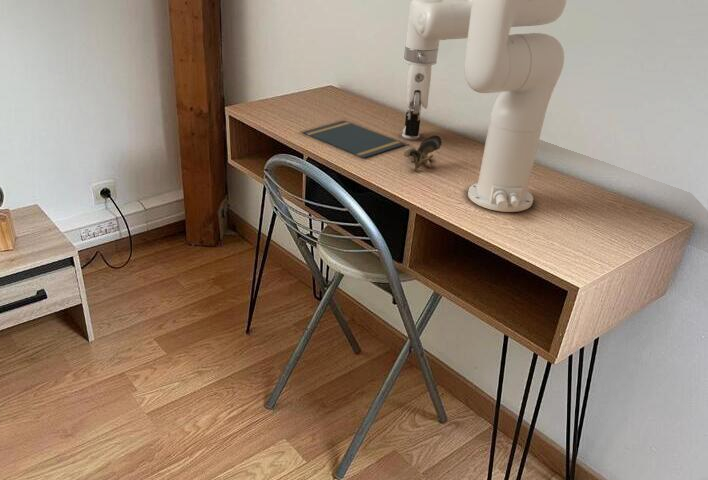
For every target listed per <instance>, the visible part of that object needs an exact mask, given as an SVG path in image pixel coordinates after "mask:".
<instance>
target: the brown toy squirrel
mask: <svg viewBox="0 0 708 480" xmlns="http://www.w3.org/2000/svg"><path fill="white" fill-rule="evenodd" d="M442 144H443V141H442V138H441V137H440V135H435V134H434V135H431V136H428V137H427V138H424V139H423V140H422V141H421V143H420V145H419V146H418V149H416V148H415V147H414V146H412V147H409V148H407V149H405V150H404V152H403V156H404V157H405V158H410V157H412V158H413V159H414V160H411V161H410V163H412V164H414V169H413V172H416V171H417V170H418V169H419V168H420V167H421V166H422V164H425V165H426V166H427V167H429V169H431V168H432V166H431V162H430V160H431V159H432V158H433V157H434V155H433V154H431V153H433V152H434V151H438V150H440V149H441V146H442ZM429 154H431V155H429ZM428 155H429V156H428Z"/></svg>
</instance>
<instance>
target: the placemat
mask: <svg viewBox="0 0 708 480" xmlns="http://www.w3.org/2000/svg"><path fill="white" fill-rule="evenodd" d="M302 134H305V135H306V136H309V137H312V138H313V139H316V140H319V141H320V142H321V141H322V142H324V143H326V144H329V145H330V146H333V147H336V148H338V149H340V150H343V151H345V152H348V153H350V154H352V155H354V156H358V157H359V158H361V159H367V158H370V157H374V156H377V155H379V154H382V153H385V152H388V151H391V150H394V149H397V148H400V147H404V146H405V145H406V143H403V142H401V141H399V140H396V139H393V138H390V137H387V136H385V135H382V134H380V133H377V132H375V131H372V130H368V129H366V128H364V127H361V126H359V125H356V124H354V123H350V122H348V121H345V120H343V121H338V122H335V123H331V124H327V125H324V126H320V127H317V128H313V129H310V130H309V129H308V130H305V131H303V133H302Z"/></svg>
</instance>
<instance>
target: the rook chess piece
mask: <svg viewBox="0 0 708 480" xmlns="http://www.w3.org/2000/svg"><path fill="white" fill-rule="evenodd" d="M413 105H414V104H412V106H413ZM406 110H408V111H409V107H408V106H407V107H406ZM411 111H413V109H411ZM405 129H406V126H405V125H404V128H403V129H402V133H401V137H402V139H404V140H409V141H416V140H419V138H420V134H421V131H420V130H421V129H419V134H418V136H406V135H405Z"/></svg>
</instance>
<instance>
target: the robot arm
mask: <svg viewBox="0 0 708 480" xmlns="http://www.w3.org/2000/svg"><path fill="white" fill-rule="evenodd" d="M566 4H567V0H464V1H461V0H458V1H443V0H411V1H410V3H409V11H408V18H407V29H406V37H405V45H404V47H405V48H404V56H403V62H404V63H406V64H408V65H407V76H406V87H405V99H406V100H405V101H406V106H407V108H408V107H409V111H408V110H407V109H406V110H407V111H406V113H405V120H404V127H405V126H406V129H405V135H406V136H418V134H419V130H420V125H421V111H422V108H423V109H424V110H425V109H427V108H428V105H429V96H430V88H431V87H430V86H431V78H432V68H433V67H432V66H435V65H436V64H437V61H438V53H439V47H440V41H446V40H463V39H466V48H465V54H464V77H465V80H466V83H467V85H468V86H469V88H470V89H471V90H472V91H474V92H476V93H479V94H495V93H500V94H499V95H498V97H497V99H496V100H495V102H494V103H493V104H494V105H493V106H492V109H491V114H490V118H489V123H488V128H487V133H486V139H485V144H484V148H483V149H484V150H483V155H482V160H481V165H480V170H479V174H478V175H479V176H478V180H477V182H476V183H473V184H471V186H470V187H469V188H468V192H467V196H468V199H470V201H471V202H473V203H474V204H475V205H477V206H479V207H482V208H484V209H488V210H491V211H496V212H503V213H516V212H523V211H526V210H528V209H529V208H531V207H532V205H533V202H534V196H533V194H532V193H531V192H530V191H529V190H528V188H529V185H530V179H531V175H532V172H533V168H534V167H533V166H534V163H535V160H536V155H537V150H538V147H539V140H540V138H541V133H542V129H543V125H544V121H545V118H546V113H547V109H548V107H549V103H550V100H551V97H552V94H553V92H554V90H555V87H556V85H557V83H558V81H559V79H560V76H561V74H562V71H563V68H564V65H565V64H564V63H565V52H564V48H563V46H562V44H561V43H560V41H559V40H558V39H557V38H555V36H553V35H549V34H546V33H541V32H538V33H537V32H529V33H513V34H510V31H511V29H512V28H517V27H518V28H519V27H520V28H521V27H534V26H535V27H537V26H543V25H549V24H551V23H554V22H556V21H557V20H558V19H559V18H560V17H561V16H562V14H563V12H564V10H565V7H566ZM412 104H414V105H413V106H412ZM411 109H413V111H411ZM419 135H420V134H419Z"/></svg>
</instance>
